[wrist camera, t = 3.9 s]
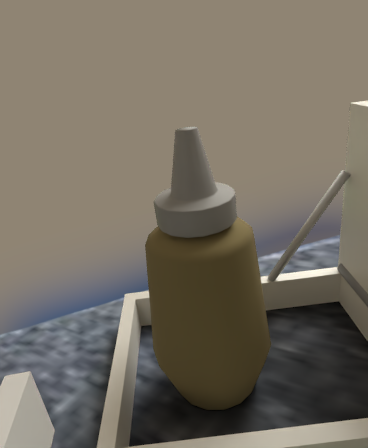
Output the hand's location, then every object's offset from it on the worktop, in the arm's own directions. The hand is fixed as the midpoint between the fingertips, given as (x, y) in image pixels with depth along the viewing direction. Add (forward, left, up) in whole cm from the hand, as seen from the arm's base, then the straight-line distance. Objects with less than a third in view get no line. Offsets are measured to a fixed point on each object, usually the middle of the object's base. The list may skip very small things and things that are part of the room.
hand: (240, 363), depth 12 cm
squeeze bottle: (+1, -10, -12) cm, 16 cm away
